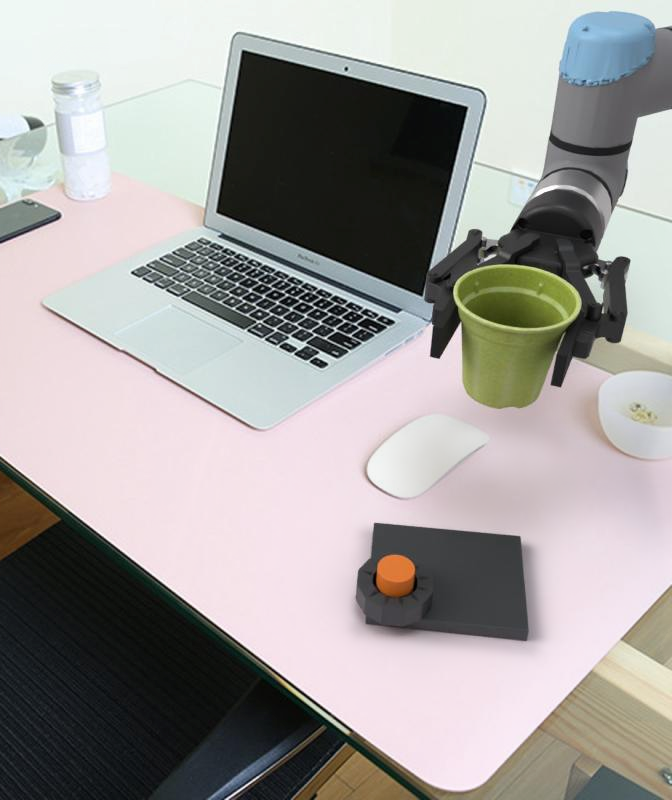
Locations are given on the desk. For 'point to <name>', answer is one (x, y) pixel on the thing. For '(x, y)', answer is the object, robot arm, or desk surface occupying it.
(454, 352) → the desk surface
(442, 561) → the dark piece
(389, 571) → the button
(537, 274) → the plant pot
